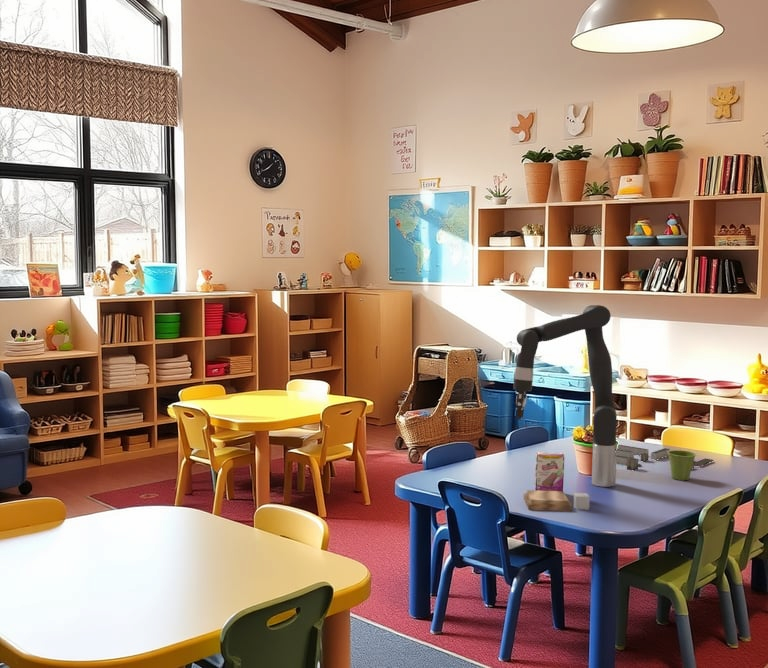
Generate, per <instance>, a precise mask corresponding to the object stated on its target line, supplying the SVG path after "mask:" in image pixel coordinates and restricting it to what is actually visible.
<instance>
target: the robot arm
mask: <svg viewBox="0 0 768 668" xmlns="http://www.w3.org/2000/svg"><path fill="white" fill-rule="evenodd" d="M611 315H612V314H611V311H610V309H608V308H607V307H606V306H604V305H600V304H596V305H595V304H593V305H587V306H586V307H585V308H584V310H583V312H582V313H581V314H578V315H575V316H571V317H566V318H561V319H556V320H554V321H553V320H552V321H550V322H547V323H544V324H542V325H539V326H533V327H529V328H525V329H522V330H520V331H519V332H518V333H517V336H516V342H517V344H518V345H519V346H521V347H520V352H519V353H518V354H517V356H516V363H515V364H516V365H515V369H514V374H513V375H514V377H513V387H512V388H513V390H514V391H515V390H516V391H518V393H516V399H515V409H516V411H515V419H517V420H521V419H522V418H524V412H525V407H526V405H527V398H528V393H527V392H532V391H533V390H532V389H533V381H534V365H535V357H536V354H537V350H538V347H539V343H540V342H541V343H542V342H549V341H552V340H555V339H558V338H561V337H563V336H567V335H570V334H573V333H576V332H579V331H583V330H584V333H585V336H586V337H585V338H586V345H587V349H586V351H587V357H588V358H587V360H588V368H589V369H588V371H589V378H590V381H591V385H592V388H593V389H592V390H593V393H594V412H593V413H594V414H593V422H592V423H593V425H592V427H593V428H592V458H591V459H592V463H591V464H592V465H591V484H592V485H593V486H596V487H603V488H606V487H607V488H608V487H609V488H610V487H616V485H617V484H616V483H617V482H616V477H617V464H616V463H615V449H616V442H617V416H618V415H617V411H616V407H615V402H614V396H613V366H612V358H611V354H610V351H609V349H608V347H607V344H606V342H605V339H604V333H603V327H604V326H607V325H608V323H609V322H610V321H611V317H612V316H611Z"/></svg>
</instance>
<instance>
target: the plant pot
mask: <svg viewBox="0 0 768 668" xmlns="http://www.w3.org/2000/svg"><path fill="white" fill-rule="evenodd" d="M667 453H668V454H669V456H668V459H669V464H670V465H669V466H670V472H671V473H670V474H671V478H672V479H674V480H676V479H678V480H677V481H688V479H689V480H690V477H691V472H692V470H693V469H692V464H693V461H695V459H696V458H695V457H696V456H697V453H695V452H693V451H689V450H679V449H675V450H674V449H672V450H671V449H670V451H668V452H667ZM691 469H692V470H691Z"/></svg>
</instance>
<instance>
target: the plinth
mask: <svg viewBox="0 0 768 668" xmlns="http://www.w3.org/2000/svg"><path fill="white" fill-rule="evenodd" d="M523 500H524V503H525V505H526V507H527V509H528V510H529V511H566V512H567V511H568V512H569V511H572V509H573V508H572V507H573V504H572V503H571V502H570V500H569V499H568V497H567V496H566V494H565V492H564V490H563V491H535V489H534V490H533V489H532V490H531V489H529V490H528V489H527V490H526V493H525V492H524V493H523Z"/></svg>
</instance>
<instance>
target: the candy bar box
mask: <svg viewBox="0 0 768 668" xmlns="http://www.w3.org/2000/svg"><path fill="white" fill-rule="evenodd" d="M564 470H565V454H564V453H563V452H546V451H545V452H543V451H536V452H535V472H534V491H563V492H564V480H565V479H564V476H565V474H564V473H565V471H564Z"/></svg>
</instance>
